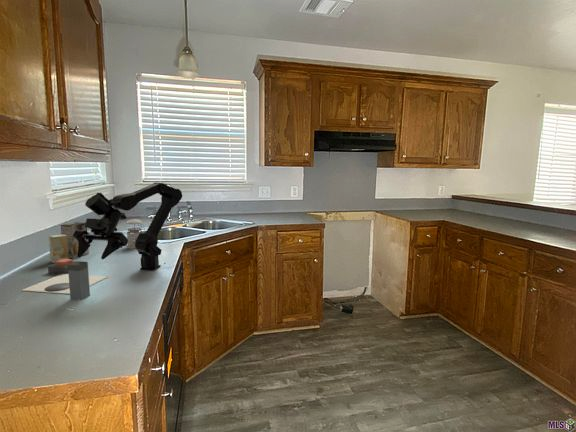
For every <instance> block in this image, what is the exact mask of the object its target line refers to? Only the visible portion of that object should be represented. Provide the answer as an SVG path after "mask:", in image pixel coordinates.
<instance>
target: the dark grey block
mask: <svg viewBox="0 0 576 432" xmlns="http://www.w3.org/2000/svg"><path fill="white" fill-rule="evenodd" d="M68 274H69V286H70V294H69V297H70V300H78V299H80V301H82V300H83V298H84V299H86V298H87V296H88V297H89V296H91V292H90V291H91V290H90V286H89V276H90V275H89V262H88V261H79V260H76V262H73V263H71V264H68ZM85 297H86V298H85Z"/></svg>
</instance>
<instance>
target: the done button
mask: <svg viewBox="0 0 576 432" xmlns="http://www.w3.org/2000/svg"><path fill="white" fill-rule="evenodd" d="M73 261H74V260H73V258H69V259H61V260H59V261H56V262H55V263H56V265H58V266H66V265H68V264H71V263H73ZM55 263H54V264H55Z"/></svg>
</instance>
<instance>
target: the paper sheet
mask: <svg viewBox="0 0 576 432" xmlns="http://www.w3.org/2000/svg"><path fill="white" fill-rule="evenodd" d="M106 279H108V276H101V275H100V276H99V275H89V287H92V286H93V284H94V285H96V284H98V283H99V281H100V282H102V281H103V280H106ZM101 280H102V281H101ZM97 282H98V283H97ZM95 283H96V284H95ZM91 285H92V286H91ZM21 291H22V292H33V293H35V292H36V293H46V294H47V293H48V294H49V293H50V294H62V295H70V286H69V274H57V275H56V276H53V277H51V278H49V279H46V280H43V281H41V282H39V283H35V284H33V285H31V286H28V287H26V288H24V289H22V290H21Z"/></svg>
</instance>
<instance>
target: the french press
mask: <svg viewBox="0 0 576 432" xmlns="http://www.w3.org/2000/svg"><path fill="white" fill-rule="evenodd" d="M132 209H133V213H135V207H133V208H132ZM126 224H127V225H133V227H132V228H127V231H126V238H127V239H128V243H127V245H126V246H125V248H127V249H136V247H135V243H136V241H135V240H136V239H137V238H138V235H139V234H140V233H143V232H146V231H145V228H143V227H145V226H144V224H143V222H142V221H141V220H140V219H137V218H133V219H129V220H127V221H126ZM135 225H137V226H138V227H136V226H135ZM142 228H143V230H142Z"/></svg>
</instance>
